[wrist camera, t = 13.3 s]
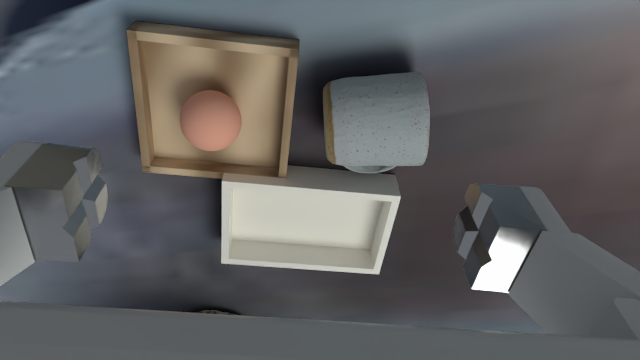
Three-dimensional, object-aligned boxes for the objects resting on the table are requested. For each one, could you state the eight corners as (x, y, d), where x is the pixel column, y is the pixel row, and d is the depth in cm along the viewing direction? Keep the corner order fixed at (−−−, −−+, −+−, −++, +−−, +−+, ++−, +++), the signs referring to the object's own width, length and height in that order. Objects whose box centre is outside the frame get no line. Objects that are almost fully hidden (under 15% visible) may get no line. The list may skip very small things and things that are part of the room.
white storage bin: (395, 174, 46) (400, 196, 43) (374, 250, 52) (378, 274, 49) (227, 159, 44) (221, 181, 42) (226, 239, 50) (221, 263, 48)
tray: (299, 40, 38) (299, 49, 36) (286, 170, 45) (285, 184, 44) (135, 21, 37) (126, 29, 35) (149, 158, 44) (142, 171, 42)
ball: (247, 84, 39) (235, 112, 35) (245, 135, 42) (234, 166, 38) (188, 76, 39) (169, 103, 35) (190, 128, 42) (173, 158, 38)
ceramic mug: (318, 65, 39) (321, 108, 33) (416, 56, 39) (437, 98, 33) (328, 167, 46) (332, 220, 39) (412, 160, 45) (429, 212, 39)
